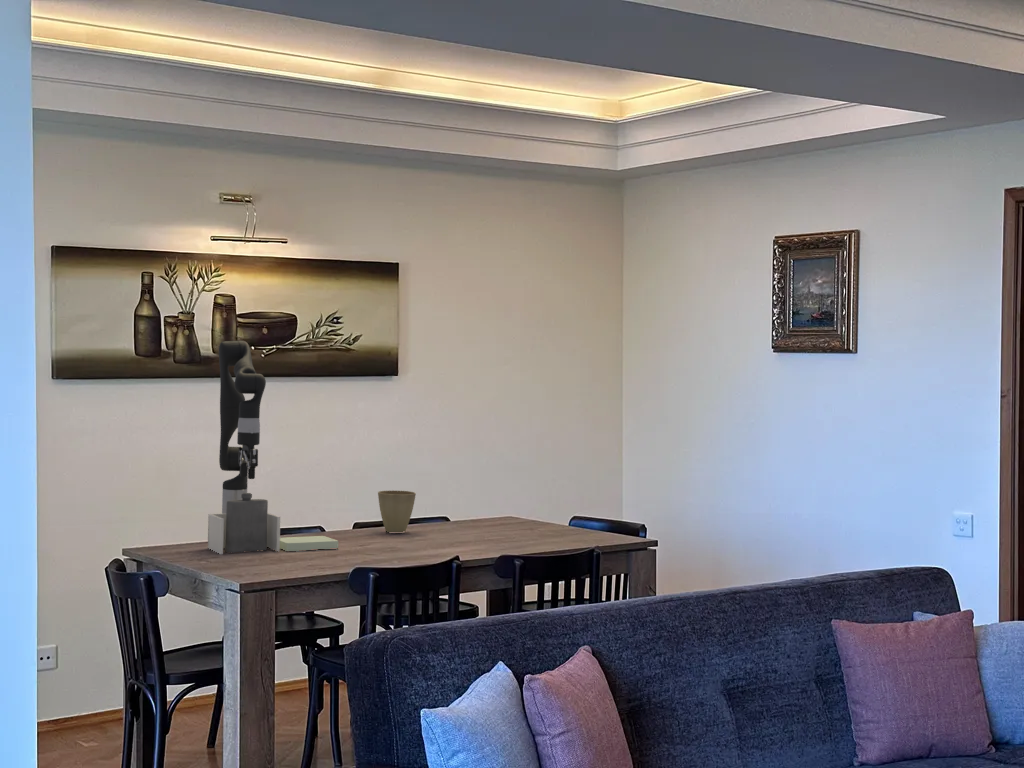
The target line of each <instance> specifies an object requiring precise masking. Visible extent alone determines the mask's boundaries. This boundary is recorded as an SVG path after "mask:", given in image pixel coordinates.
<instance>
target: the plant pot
mask: <svg viewBox="0 0 1024 768" xmlns="http://www.w3.org/2000/svg"><path fill="white" fill-rule="evenodd" d="M416 493H417V492H415V491H411V490H410V491H408V490H380V491H377V496H378V497H377V498H378V505H379V506H378V507H379V511H380V515H381V521H382V524H383V526H384V530H385V532H386V531H387V532H403V531H405V532H406V531H407V528H408V525H409V524H410V520H411V518H412V517H411V516H412V514H413V510H414V504H415V500H416ZM387 532H386V533H387Z"/></svg>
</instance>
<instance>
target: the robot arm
mask: <svg viewBox="0 0 1024 768" xmlns="http://www.w3.org/2000/svg"><path fill="white" fill-rule="evenodd" d="M218 360H219V361H218V362H219V376H220V377H219V378H220V381H219V383H220V385H219V386H220V387H219V388H220V389H219V390H220V391H219V392H220V393H219V395H220V396H219V416H220V417H219V418H220V422H219V423H220V439H219V441H220V442H219V454H218V455H219V458H218V459H219V461H218V462H219V467H220V469H221V471H225V472H239V473H238V474H237V475H236V476H234V477H232V478H230V479H226V480H224V481H222V492H221V493H222V499H221V509H222V510H221V514H226V509H227V501H230V500H242V498H241V495H242V494H243V493H248V479H249V480H254V479H256V477H255V476H256V468H257V467H258V466H259V450H258V448H255V446H259V445H260V436H261V435H260V433H261V431H260V430H261V423H260V416H261V415H260V413H261V412H260V409H261V402H262V398H263V395H264V392H265V389H266V385H267V384H266V382H267V381H266V378H265V376H264V375H263V374H262V373H257V371H256V370H255V368H254V364H253V358H252V352H251V347H250V345H249V344H248V342H246V341H245V340H226V341H221V342H220V344H219V346H218ZM229 367H233V373H234V376H235V379H234V378H233V377H232V375H231V373H230V370H229ZM244 394H248V395H249V394H251V395H253V397H252V398H251V399H246V398H245V397H246V396H245V395H244ZM236 430H237V440H236V441H237V446H230V445H229V443H230V441H231V439H232V437H233V435H234V433H235V432H236Z"/></svg>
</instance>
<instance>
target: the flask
mask: <svg viewBox="0 0 1024 768" xmlns="http://www.w3.org/2000/svg"><path fill="white" fill-rule="evenodd" d="M252 497H253V494H252V493H251V492H247V493H243V494H242V495H241V498H242V500H230V501H227V509H226V545H225V548H224V551H225V553H227V552H230V553H229V554H236V553H235V552H240V553H245V552H244V551H251V552H261V551H260V550H265V551H266V550H267V513H268V510H269V509H268V506H269V504H268V503H269V501H268V499H262V498H257V499H255V498H254V499H253V498H252ZM257 550H259V551H257ZM231 552H232V553H231Z"/></svg>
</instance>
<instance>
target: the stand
mask: <svg viewBox="0 0 1024 768" xmlns="http://www.w3.org/2000/svg"><path fill="white" fill-rule="evenodd" d="M330 548H338V549H339V540H337V539H334V538H332V537H331V538H330V537H328V536H325V535H316V536H314V535H311V536H310V535H309V536H294V537H293V536H290V537H289V536H288V537H280V550H281V549H283V550H285V551H284V552H286V551H296V552H300V551H299V550H311V549H330ZM283 550H282V551H283Z"/></svg>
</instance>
